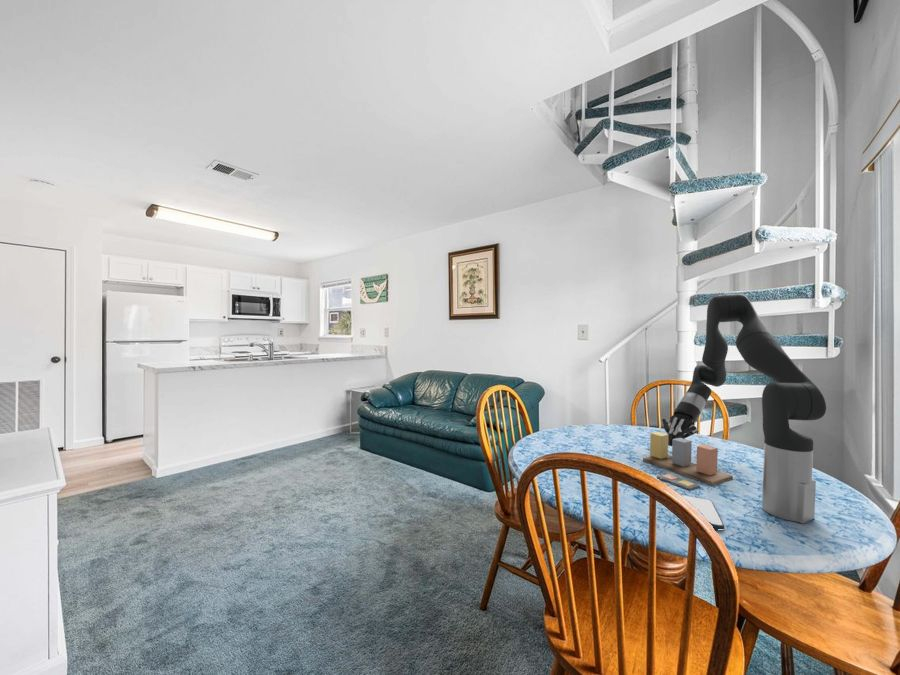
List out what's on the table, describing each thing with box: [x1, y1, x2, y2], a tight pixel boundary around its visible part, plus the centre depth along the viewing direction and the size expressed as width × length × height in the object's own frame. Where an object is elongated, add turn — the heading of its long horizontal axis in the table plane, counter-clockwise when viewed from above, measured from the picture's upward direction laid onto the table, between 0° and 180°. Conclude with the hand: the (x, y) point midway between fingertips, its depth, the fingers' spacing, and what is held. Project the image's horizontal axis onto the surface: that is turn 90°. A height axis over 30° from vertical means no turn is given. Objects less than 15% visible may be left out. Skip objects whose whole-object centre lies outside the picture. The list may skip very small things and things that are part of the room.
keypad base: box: [642, 454, 734, 486], centre depth 126 cm, size 23×11×1 cm, turn 27°
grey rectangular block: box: [671, 438, 693, 467], centre depth 127 cm, size 4×4×8 cm
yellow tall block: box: [649, 431, 669, 459], centre depth 134 cm, size 4×4×8 cm
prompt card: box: [656, 472, 701, 491], centre depth 115 cm, size 10×5×1 cm, turn 27°
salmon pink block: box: [695, 443, 719, 475], centre depth 120 cm, size 4×4×8 cm
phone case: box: [681, 494, 725, 531], centre depth 96 cm, size 9×2×16 cm
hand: (668, 444), depth 137 cm, fingers closed
